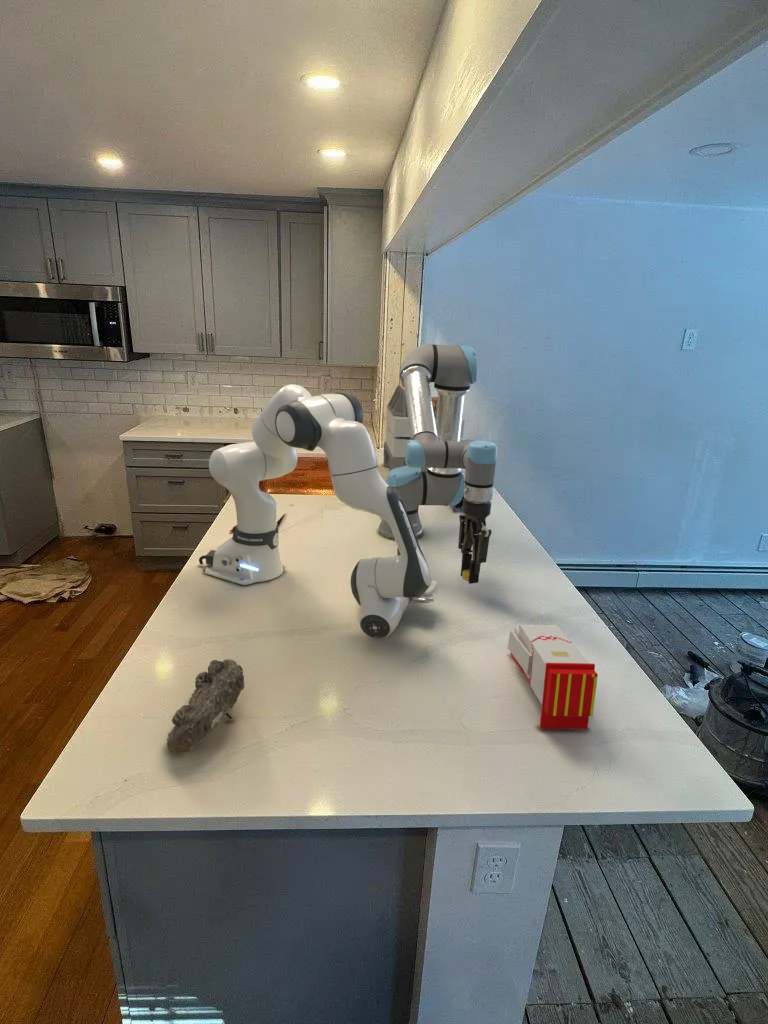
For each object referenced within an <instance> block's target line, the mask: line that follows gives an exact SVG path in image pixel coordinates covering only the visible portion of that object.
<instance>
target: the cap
mask: <svg viewBox="0 0 768 1024" xmlns="http://www.w3.org/2000/svg"><path fill="white" fill-rule="evenodd" d="M469 572H470V569H466V570H464V571H463V573H462V576H461V578H462V580H463V581H465V582H469Z"/></svg>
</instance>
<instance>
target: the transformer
mask: <svg viewBox="0 0 768 1024" xmlns="http://www.w3.org/2000/svg"><path fill="white" fill-rule="evenodd" d="M431 399H432V405H433V411H434V418H435V424H436V412H437V401H438V396H431ZM385 414H386V415H385V423H386V428H385V438H384V442H383V466H384V467H388V468H389V471H391V470H392V469H394V468H398V467H403V466H407V465H406V462H405V446H406V443H407V441H409V440H411V436H410V428H409V420H408V412H407V404H406V396H405V388H404V387H403V386H402V385H399V384H398V385H397V386H396V388H395V390H394V392H393V394H392V395H391V398H390V400H389V402H388V404H387V405H386V413H385ZM464 429H465V419H464V418H462V423H461V433H460V441H461V440H462V439H463V438H464V431H465V430H464Z"/></svg>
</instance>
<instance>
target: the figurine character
mask: <svg viewBox="0 0 768 1024" xmlns="http://www.w3.org/2000/svg"><path fill="white" fill-rule="evenodd" d="M464 499H465V498H464V494H463V497H462V499H461V501H460V502H459V503H458V504H457V505H449V506H450V507H451V508H452V510H453V512H456V510H458V509H459V510H460V512H462V506H463V500H464Z"/></svg>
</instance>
